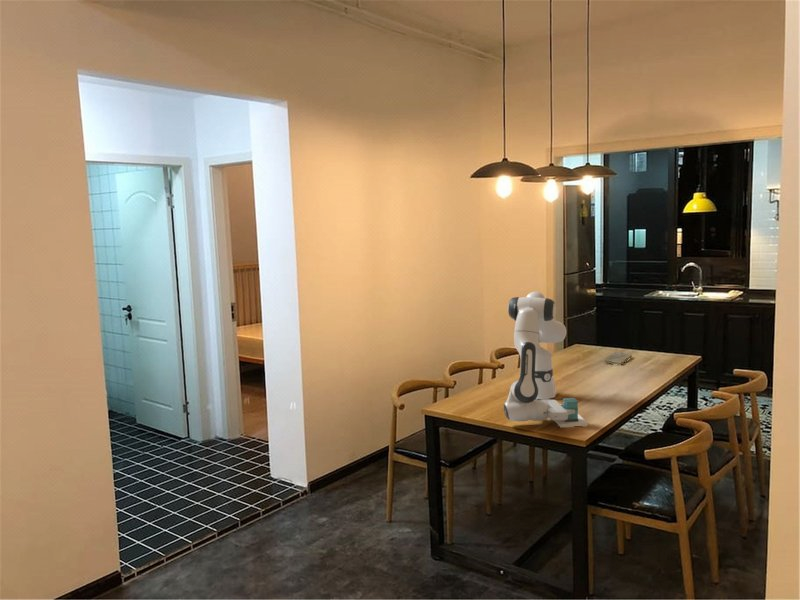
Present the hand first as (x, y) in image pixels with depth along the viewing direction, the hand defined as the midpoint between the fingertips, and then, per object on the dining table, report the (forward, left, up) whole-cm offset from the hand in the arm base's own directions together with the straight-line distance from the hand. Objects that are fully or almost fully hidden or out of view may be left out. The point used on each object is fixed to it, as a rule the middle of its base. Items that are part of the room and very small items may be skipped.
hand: (572, 409), depth 280 cm
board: (-7, +2, -6) cm, 10 cm away
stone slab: (-94, +104, -7) cm, 140 cm away
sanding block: (0, -1, -5) cm, 5 cm away
